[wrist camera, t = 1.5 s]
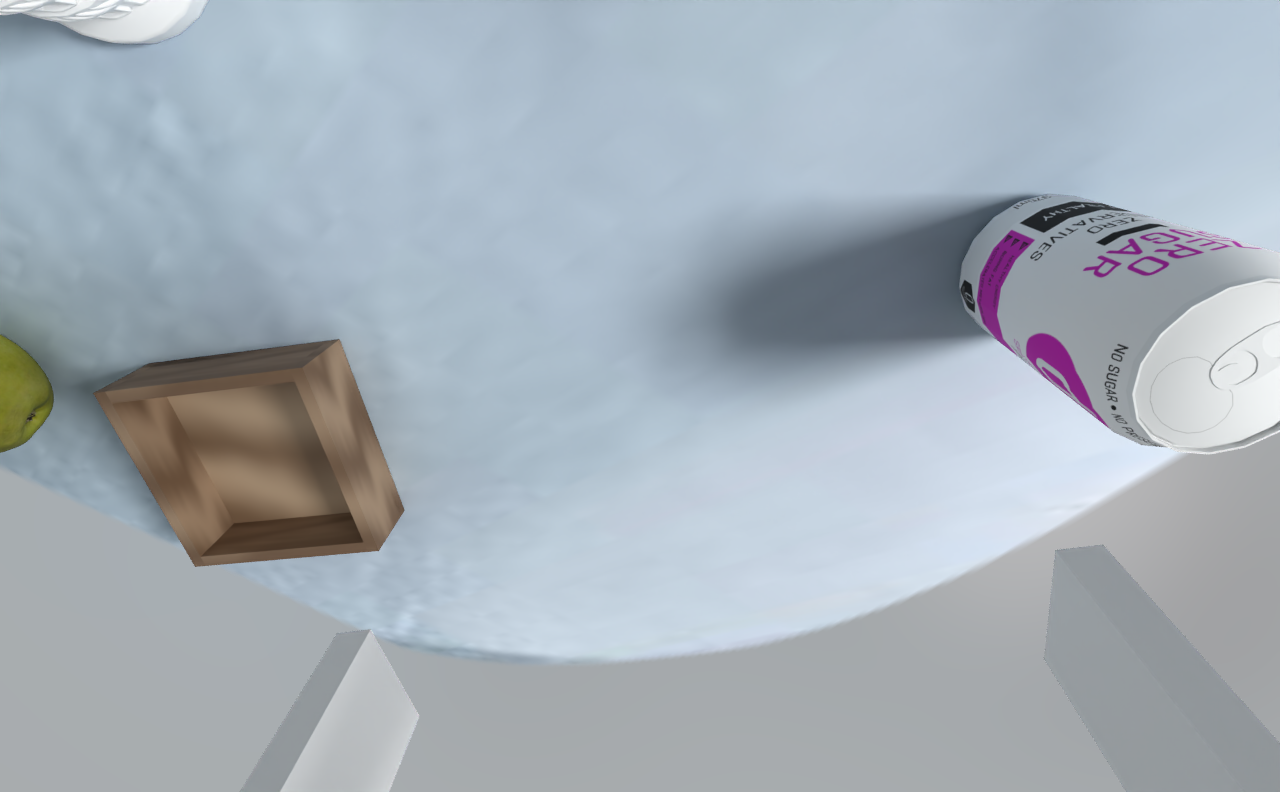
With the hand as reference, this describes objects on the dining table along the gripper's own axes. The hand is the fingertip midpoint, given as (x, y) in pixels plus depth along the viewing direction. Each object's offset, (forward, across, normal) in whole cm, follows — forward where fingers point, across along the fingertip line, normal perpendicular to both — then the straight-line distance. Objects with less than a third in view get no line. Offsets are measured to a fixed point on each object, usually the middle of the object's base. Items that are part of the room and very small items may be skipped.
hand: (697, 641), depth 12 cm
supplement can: (+28, +19, -4) cm, 34 cm away
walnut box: (+27, -30, -7) cm, 41 cm away
